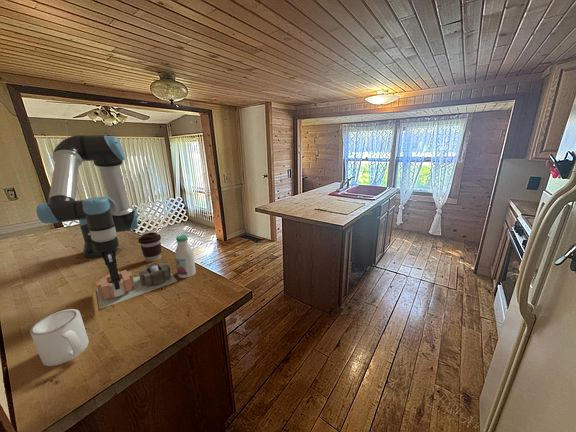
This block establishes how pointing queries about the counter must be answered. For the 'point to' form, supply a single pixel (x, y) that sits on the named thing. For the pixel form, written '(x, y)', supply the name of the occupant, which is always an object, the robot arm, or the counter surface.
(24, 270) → the counter surface
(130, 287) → the gear
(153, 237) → the coffee cup
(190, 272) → the milk bottle
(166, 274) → the gear
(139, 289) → the board
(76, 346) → the mug
